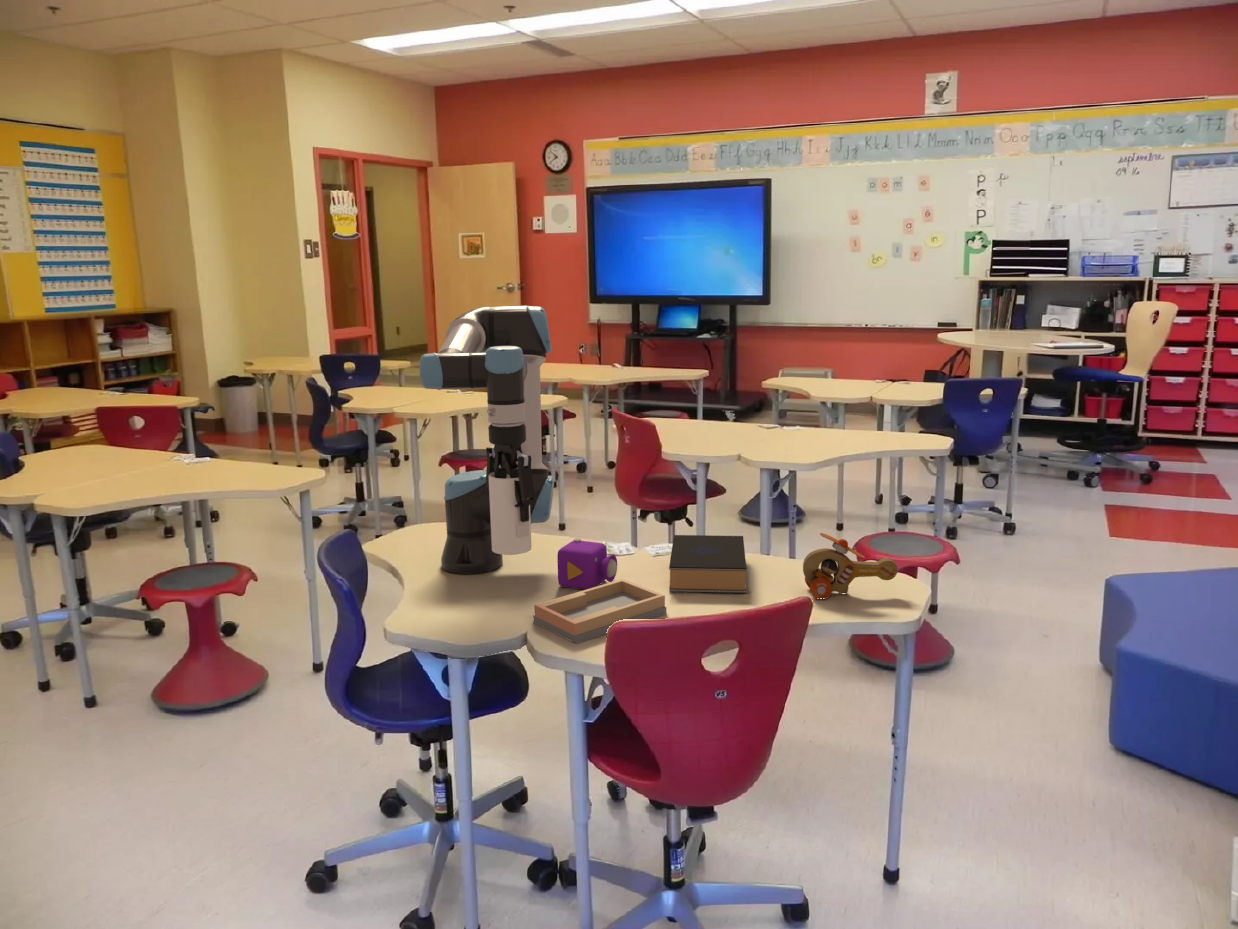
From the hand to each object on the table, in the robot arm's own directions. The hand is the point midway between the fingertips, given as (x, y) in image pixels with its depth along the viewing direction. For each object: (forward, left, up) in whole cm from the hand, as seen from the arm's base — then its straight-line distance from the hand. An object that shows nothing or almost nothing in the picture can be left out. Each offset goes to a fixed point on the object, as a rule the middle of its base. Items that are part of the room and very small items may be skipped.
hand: (511, 531), depth 194 cm
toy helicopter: (+37, +64, -20) cm, 76 cm away
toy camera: (-6, +25, -20) cm, 32 cm away
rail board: (+12, +14, -19) cm, 27 cm away
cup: (0, 0, -4) cm, 4 cm away
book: (+8, +50, -20) cm, 54 cm away
